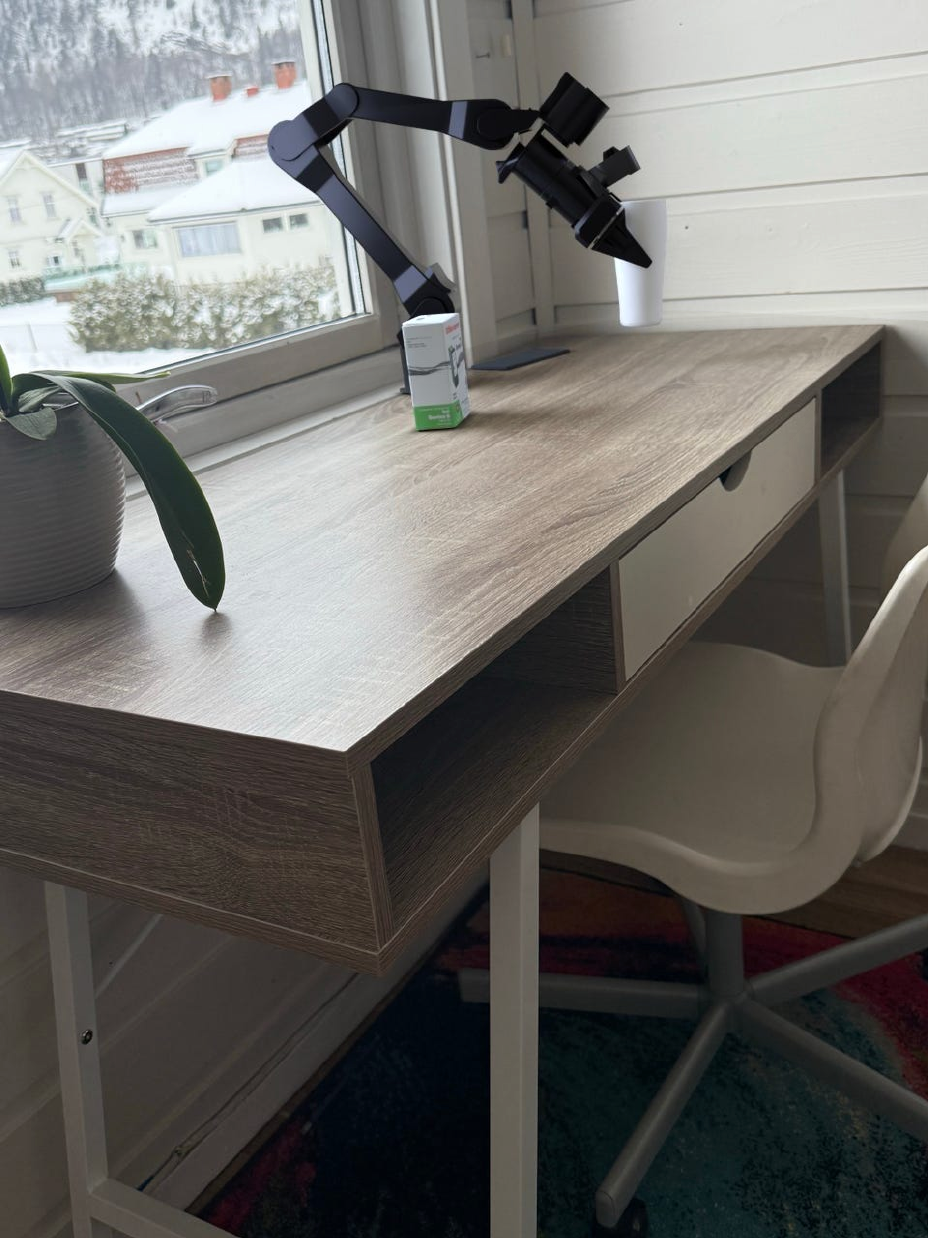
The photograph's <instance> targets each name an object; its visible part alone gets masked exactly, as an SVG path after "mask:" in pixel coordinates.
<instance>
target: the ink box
mask: <svg viewBox="0 0 928 1238" xmlns="http://www.w3.org/2000/svg"><path fill="white" fill-rule="evenodd" d="M401 328H402V329H403V336H404V344H405V351H406V359H407V366H408V373H409V382H410V390H411V394H410V397H411V404H412V409H413V418H414V419H413V420H414V426H415V430H416V431H424V430H437V429H438V430H439V429H440V430H441V429H452V428H457V427H458V425H460V424H461V422H462V421H464V419H466V417H468V416H469V414H470V413H471V406H470V400H469V399H470V398H469V388H468V381H467V372H466V364H465V356H464V355H465V354H464V348H463V338H462V329H461V320H460V314H459V313H451V314H436V315H423V316H418V317H416V318H414V319H411V320H409V321H407V320H406V321H405V322H403V323H402V326H401Z"/></svg>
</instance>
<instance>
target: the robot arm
mask: <svg viewBox="0 0 928 1238" xmlns="http://www.w3.org/2000/svg"><path fill="white" fill-rule="evenodd" d="M610 110H611V108H610V107H609V105H607V103H605V102H604V101H603V100H602V99H601V98H600V97H599V96H598V95H597V94H595V92H594V91H593V90H591V89H590V88H589V87H585V86H584V85H583V84H582V83H581V82H580V81H578V79H576V78H575V77H574V76H573V75H572V74H570V73H569V72H568V71H564V73H563V74H562V76H560V78H559V80H558V82H557V83H556V85H555V88H553V90H552V91H551V93H550V94H549V95H548V97H547V98H546V99H545V101H544V102H543V104H541V106H540V107H539V109H534V108H532V107H529V108H527V109H523V108H522V109H521V108H520V109H518V108H517V109H516V108H515V107H513V106H512V105H511V104H510V103H508V102H507V101H506V102H505V101H503V100H501V99H498V98H471V99H469V98H468V99H455V100H443V99H442V100H441V99H436V98H429V97H423V96H418V95H410V94H405V93H399V92H392V91H386V90H380V89H374V88H368V87H362V86H359V85H356V84H353V83H350V82H339V83H337V84H336V85H334V86H333V87H332V88H331V89H330V91H328V92H327V93H326V94H325V95H324V96H322V97H321V98H319V99H318V100H317V101H315V102H314V103H313V104H311V105H310V106H308V107H307V108H305V109H303V110H302V111H301V112H300V113H299V114H298V115H296V116H295V117H294V118H293V119H284V120H282V121H279V122H277V123H276V124H275V125H273V127H272V128H271V129H270V131H269V132H268V137H267V140H266V142H267V143H266V145H267V148H266V151H267V153H268V156H269V158H270V159H271V161H272V162H273V163H274V164H275V165H276V166H277V167H278V168H280V169H281V170H282V171H283V172H284V173H286V174H287V175H288V176H289V177H290V178H292V180H294V181H295V182H297V183H299V184H300V185H302V187H305V188H306V189H307V190H309V191H310V192H312V193H313V194H314V195H316V196H317V197H318V198H319V199H320V200H321V201H322V203H323V204H324V205H325V207H327V208H328V209H329V211H330V212H331V213H332V214H333V216H334V217H335V218H336V219H337V220H338V221H339V222H340V224H341V225H342V226H343V227H344V228H345V229H346V230H347V232H349V234H350V235H351V236H352V237H353V238H354V240H355V241H356V242H357V243H358V244H359V245H360V246H361V248H362V249H363V250H364V251H365V253H366V254H367V255H368V256H369V257H370V258H371V259H372V261H374V263H375V264H376V265H377V266H378V267H379V268H380V270H381V271H382V272H383V273H384V274H385V276H386V277H387V278H388V279H389V280H390V282H391V283H392V285H393V287H394V290H395V292H396V294H397V297H398V299H399V300H400V302H401V304H402V306H403V308H404V309H405V311H406V312H407V315H408V316H409V317H408V319H407V320H406V322H407V321H409V320H411V319H414V318H416V317H418V316H423V315H436V314H451V313H459V315H460V313H461V311H462V310H461V309H462V299H461V296H460V295H459V293H458V291H457V290H456V289H457V288H458V286H459V285H458V283H455V282H453V281H452V280H451V279H450V278H449V277H448V276H447V274H446V273H445V271H444V270H443V268H442V266H441V265H440V264H439V263H438V262H435V263H433V264H431V265H429V266H428V267H427V266H426V265H424V264H422V263H421V262H420V261H418V259H416V258H415V257H414V256H413V255H412V254H411V252H410V251H409V250H408V249H407V248H406V247H405V245H404V244H403V243H402V242H401V241H400V240H399V238H398V237H397V236H396V234H394V233H393V232H392V230H391V229H390V228H389V226H387V224H386V223H385V222H384V221H383V220H382V219H381V217H380V216H379V215H378V214H377V213H376V212H375V211H374V209H373V208H372V207H371V206H370V205H369V203H368V202H367V201H366V200H365V199H364V198H363V196H362V195H361V194H360V193H359V191H358V190H357V189H356V188H355V187H354V186H353V185H352V183H351V182H350V181H349V180H348V179H347V178H346V176H345V175H344V173H343V172H342V170H341V168H340V166H339V165H340V164H339V163H338V161H337V159H336V156H335V154H334V153H333V151H332V149H331V147H330V146H329V144H331V143H332V142H333V141H334V140H335V139H336V138H337V137H338V136H340V134H341V133H342V132H344V130H345V129H346V128H347V127H348V126H349V125H350V124H351V123H352V122H353V121H355V120H356V119H360V120H365V121H371V122H377V123H382V124H389V125H396V126H401V127H406V128H413V129H418V130H419V129H420V130H424V131H432V132H437V133H441V134H443V135H447V136H449V137H452V138H454V139H457V140H459V141H462V142H464V143H468V144H470V145H473V146H476V147H478V148H481V149H484V150H487V151H504V150H506V149H508V148H509V147H511V146H512V145H513V144H514V143H515V142H516V140H517V139H518V138H519V136H520V135H524V134H526V133H530V132H532V131H535V130H536V129H537V127H538V126H539V125H540V123H541V122H542V121H543V123H542V124H541V126H540V127H539V129H538V130H537V131H536V133H535V134H534V135H533V137H531V139H530V140H529V141H528V143H527V144H525V143H523V142H522V141H521V140H519V141H518V143H517V144H516V145H515V146H514V148H513V149H512V150H511V152H510V153H509V154H508V156H507V157H506V158H505V159H504V160H496V161H494V165H495V167H496V171H497V183H498V184H499V185H502V184H505V183H507V181H508V180H509V179H510V178H511V176H512V175H514V176H515V177H516V178H517V179H518V180H519V181H520V182H521V183H523V184H524V185H525V186H526V187H527V188H528V189H530V191H532V192H533V193H534V194H535V195H536V196H537V197H539V198H540V199H541V200H542V201H543V202H544V205H546V207H547V208H549V209H550V210H553V211H554V212H555V213H556V214H558V215H559V216H560V217H561V218H562V219H563V220H564V221H566V222H567V223H568V224H569V225H570V228H572V230H574V240H576V241H577V242H578V243H579V244H581V246H582V247H584V249H588V248H590V250H591V251H592V252H597V253H600V254H603V255H606V256H608V257H612V258H613V259H614V258H617V259H620V260H623V261H626V262H629V263H632V264H635V265H637V266H640V267H643V268H646V269H647V268H649V266H650V265H651V264H652V260H651V258H650V257H649V256H648V255H647V253H646V252H645V251H644V249H643V248H642V247H641V245H640V244H639V243H638V241H637V240H636V239H635V238H634V236H633V235H632V234H631V232H630V231H629V230H628V228H627V227H626V217H625V208H623V209H622V211H621V212H620V213H618V210H619V209H620V208H621V207H622V205H621V204H620V203H619V202H623V199H621V198H620V197H619V196H618V195H616V194H615V193H614V191H611V190H610V189H609V188H610V187H611V186H613V185H614V184H616V183H617V182H619V181H621V180H622V179H625V178H626V177H627V176H632V175H633V174H636V173H637V172H639V171H640V170H641V166H640V164H639V161H638V160H637V158H636V156H635V154H634V152H633V150H632V148H631V146H630V145H629V144H628V145H626V146H625V147H623V148H622V149H620V150H619V149H618V148H617V147H615V146H614V145H613V146H610V147H609V148H608V149H606V150H604V151H603V152H602V161H601V162H599V163H598V164H596V165H595V166H593V167H591V168H590V169H586V168H585V167H584V166H583V165H582V164H579V165H578V164H576V163H575V162H574V161H573V160H571V159H570V158H569V157H568V155H566V154H565V153H564V152H562V150H561V149H559V148H558V146H556V145H555V144H554V143H553V142H551V140H549V139H548V138H547V137H546V136H545V135H544V133H545V132H546V131H547V132H548V133H549V135H551V136H552V137H553V138H554V139H555V140H556V141H558V142H559V143H560V144H561V145H562V146H564V147H565V149H567V150H568V149H570V147H571V146H573V144H575V145H577V147H579V148H580V147H581V146H582V145H583V144H584V142H585V141H586V140H587V138H588V137H589V136H590V135H591V134H592V132H593V131H594V130H595V129H596V127H597V126H598V125H599V123H601V121H602V120H603V119H604V117H605V116H606V115H607V113H608V112H609V111H610ZM590 246H591V247H590ZM396 338H397V340H398V343H399V345H400V346H399V352H400V360H401V367H402V374H403V382H404V387H400V388H399V393H404V394H409V395H411V390H410V382H409V373H408V366H407V359H406V351H405V344H404V336H403V329H402V327H401V328H400V329H399V331H398V332H397V333H396Z"/></svg>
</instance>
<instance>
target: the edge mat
mask: <svg viewBox="0 0 928 1238" xmlns="http://www.w3.org/2000/svg"><path fill="white" fill-rule="evenodd" d="M569 352H570V349H569V348H531V349H528V350H524V351H520V352H517V353H513V354H510V355H506V356H503V357H499V358H495V359H492V360H488V361H484V362H480V363H478V364H477V363H476V364H474V365H471V366H470V369H471V370H493V371H496V370H498V371H508V370H511V369H515V368H518V367H519V368H520V367H522V366H526V365H530V364H532V363H535V362H539V361H542V360H543V361H544V360H546V359H549V358H554V357H557V356H560V355H563V354H567V353H569Z"/></svg>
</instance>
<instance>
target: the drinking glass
mask: <svg viewBox="0 0 928 1238" xmlns="http://www.w3.org/2000/svg"><path fill="white" fill-rule="evenodd" d="M619 203H620V204H621V205H622V207H621V208H620V209H619V210H618V213H620V212H621V211H622V209H623V208H625V217H626V227H627V228H628V230H629V231H630V232H631V234H632V235H633V236H634V238H635V239H636V240H637V241H638V243H639V244H640V245H641V247H642V248H643V249H644V251H645V252H646V253H647V255H648V256H649V257H650V258H651V260H652V264H651V265H650V266H649V268H647V269H646V268H643V267H640V266H637V265H635V264H632V263H629V262H626V261H623V260H620V259H617V258H614V257H613V259H614V260H613V261H614V268H615V269H614V270H615V278H616V279H615V280H616V285H617V286H616V289H617V297H618V298H617V299H618V307H619V309H618V310H619V323H620V325H621V326H622V327H623V328H647V327H654V326H659V325H660V324H661V323H662V322H663V300H664V299H663V298H664V297H663V296H664V283H665V281H664V280H665V267H666V252H667V234H668V217H667V199H666V198H659V199H656V198H655V199H644V200H642V199H641V200H631V201H630V200H629V201H622V202H619Z"/></svg>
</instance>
